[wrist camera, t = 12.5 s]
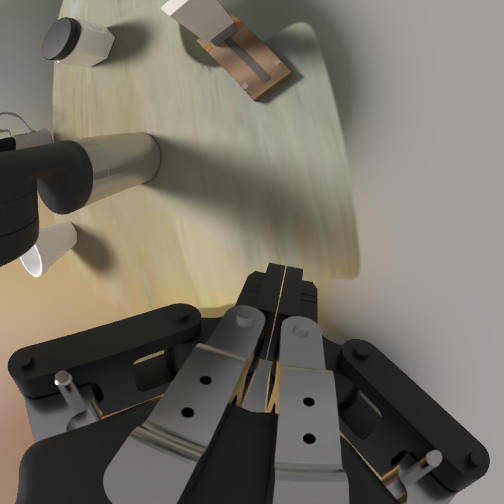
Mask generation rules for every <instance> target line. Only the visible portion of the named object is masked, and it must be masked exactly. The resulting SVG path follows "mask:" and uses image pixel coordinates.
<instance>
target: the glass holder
mask: <svg viewBox="0 0 504 504" xmlns="http://www.w3.org/2000/svg"><path fill="white" fill-rule="evenodd" d="M1 114H9V115H13V116H15V117H16V118H18V119H19V120H20V121H21V122H22V123H23V124H24V125H25V127H26V128H27V129H28V130H29V131H30V132H31V133H25V134H19V135H15V136H11V133H10V131H9V130H0V132H8V135H9V137H8V138H4V139H0V152H5V151H11V150H18V149H24V148H30V147H35V146H40V145H46V144H51V143H53V140H52V136H51V134H50V132H49V131H48V130H47V129H41V130H39V131H37V132H36V131H33V130H31V129H30V128H29V126H28V125H27V124H26V123H25V121H24V120H23V119H22V118H21V117H20V116H18V115H17V114H14V113H11V112H2V113H0V115H1Z"/></svg>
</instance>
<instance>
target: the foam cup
mask: <svg viewBox="0 0 504 504" xmlns="http://www.w3.org/2000/svg"><path fill="white" fill-rule="evenodd" d="M76 243H77V232H76V230H75V228H74V226H73V225H72V224H71V222H69V221H63V222H59V223H56V224H52V225H49V226H46V227H43V228H39V236H38V239H37V241H36V243H35V245H34V246H33V247H32V248H31V249H30V250H29V251H27V252H26V253H25V254H23V255H22V256H20V259H21V261H22V263H23V265H24V267H25V268H26V269H27V271H28V272H29V273H30V274H32V275H33V276H34V277H39V276H41V275H42V274H44V273H45V272H47V270H48V269H49V268H50V267H51V266H52V265H53V264H54V263H55V262H56V261H57V260H58V259H59V258H61V257H62V256H63V255H64V254H65V253H66V252H67V251H69V250H70V249H71V248H72V247H73V246H74V245H75V244H76Z"/></svg>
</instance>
